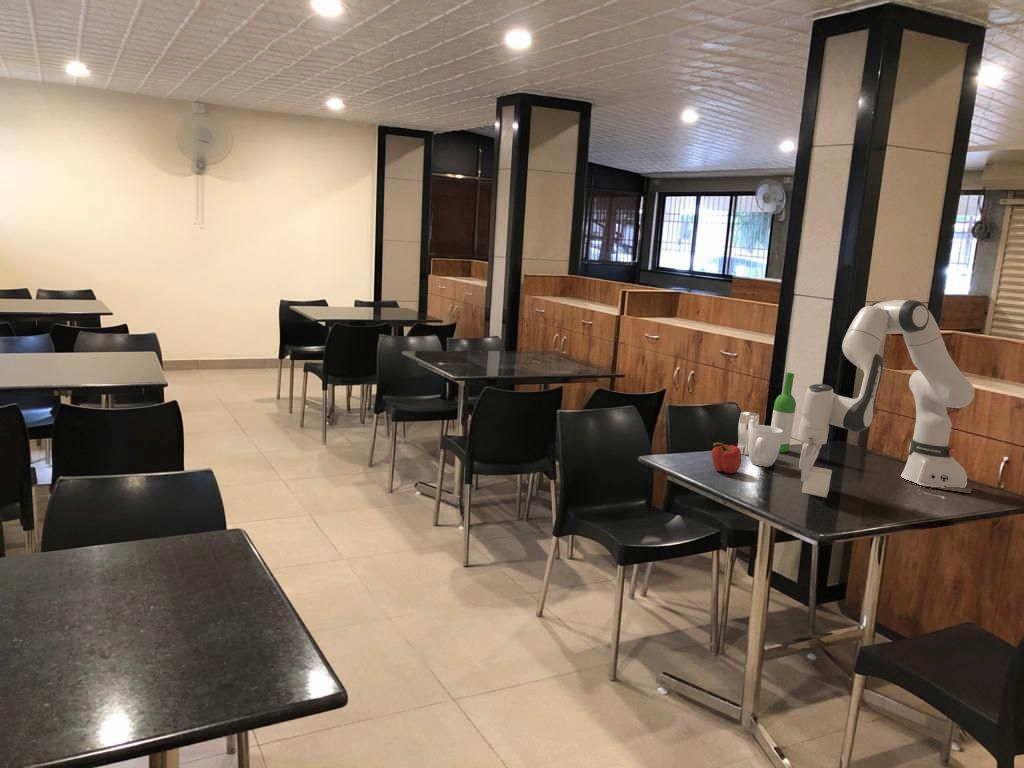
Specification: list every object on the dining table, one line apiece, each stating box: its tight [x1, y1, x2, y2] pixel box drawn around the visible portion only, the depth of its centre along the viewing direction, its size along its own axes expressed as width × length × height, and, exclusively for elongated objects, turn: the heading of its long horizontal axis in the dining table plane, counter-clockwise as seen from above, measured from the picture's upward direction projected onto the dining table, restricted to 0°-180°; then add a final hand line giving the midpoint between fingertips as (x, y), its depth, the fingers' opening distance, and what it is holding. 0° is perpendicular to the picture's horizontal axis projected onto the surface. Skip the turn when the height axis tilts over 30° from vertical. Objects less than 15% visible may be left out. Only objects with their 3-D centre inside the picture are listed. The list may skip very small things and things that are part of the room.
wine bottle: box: [770, 372, 797, 454], centre depth 310 cm, size 8×8×30 cm
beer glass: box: [736, 411, 760, 456], centre depth 302 cm, size 7×7×15 cm
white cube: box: [801, 465, 833, 498], centre depth 260 cm, size 7×7×7 cm
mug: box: [748, 424, 783, 468], centre depth 286 cm, size 15×11×13 cm
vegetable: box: [711, 441, 742, 474], centre depth 274 cm, size 11×10×10 cm
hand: (805, 477), depth 262 cm, fingers open, 8 cm apart
